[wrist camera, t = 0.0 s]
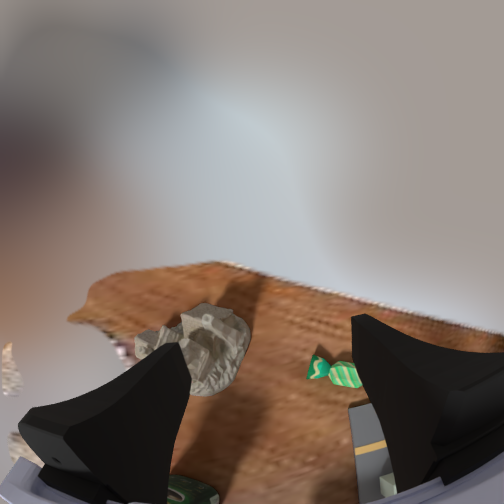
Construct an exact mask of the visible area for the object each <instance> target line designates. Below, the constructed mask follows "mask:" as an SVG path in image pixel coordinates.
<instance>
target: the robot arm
mask: <svg viewBox="0 0 504 504" xmlns="http://www.w3.org/2000/svg"><path fill="white" fill-rule="evenodd" d="M351 325H352V358H353V361H354V365H355V368H356V371H357V374H358V376H359V379H360V381H361V383H362V385H363V387H364V389H365V391H366V393H367V395H368V397H369V399H370V401H371V403H372V406H373V408H374V410H375V412H376V414H377V417H378V419H379V422H380V425H381V428H382V431H383V434H384V438H385V441H386V445H387V448H388V452H389V456H390V460H391V465H392V469H393V474H394V479H395V484H396V490H397V494H395V495H392V496H389V497H386V498H383V499H380V500H376V501H373V502H369V503H366V504H504V352H502V353H477V352H466V351H459V350H454V349H448V348H444V347H440V346H436V345H433V344H430V343H426V342H423V341H421V340H418V339H415V338H413V337H411V336H408V335H406V334H404V333H402V332H400V331H398V330H396V329H394V328H392V327H390V326H388V325H386V324H384V323H382V322H380V321H379V320H377V319H375V318H373V317H371V316H369V315H367V314H361V315H357V316H352V317H351ZM191 383H192V377H191V374H190V372H189V369H188V367H187V364H186V361H185V358H184V356H183V353H182V350H181V347H180V345H179V342H171V343H165V344H163V345H161V346H160V347H159V348H157V349H156V350H154V351H153V352H152V353H150V354H149V355H148V356H146V357H145V358H144V359H142V360H141V361H140V362H138V363H137V364H136V365H134V366H133V367H131V368H130V369H129V370H127V371H126V372H124V373H123V374H121V375H120V376H118V377H117V378H115V379H114V380H112V381H110V382H108V383H107V384H105V385H103V386H101V387H99V388H97V389H95V390H93V391H90V392H88V393H86V394H83V395H81V396H79V397H76V398H73V399H70V400H67V401H63V402H60V403H56V404H51V405H46V406H40V407H34V408H31V409H30V410H29V411H28V413H27V414H26V415H25V416H24V417H23V418H22V420H21V421H20V422H19V423H18V429H19V432H20V434H21V436H22V438H23V439H24V440H25V442H26V443H27V444H28V445H29V447H30V448H31V449H32V450H33V451H34V452H35V453H36V455H37V456H38V457H39V458H40V459H41V460H42V461H43V462H44V463H45V465H44V466H43V468H41V467H40V466H38V465H37V464H35V463H33V462H31V461H29V460H27V459H25V458H23V457H19V459H18V460H17V462H16V463H15V464H14V466H13V467H12V469H11V470H10V472H9V473H8V475H7V476H6V477H5V479H4V480H3V482H2V483H1V485H0V496H1V497H2V498H3V499H4V500H5V501H6V502H8V503H9V504H167V495H168V482H169V473H170V466H171V459H172V454H173V448H174V443H175V440H176V436H177V433H178V430H179V427H180V424H181V421H182V418H183V415H184V412H185V409H186V406H187V403H188V399H189V395H190V390H191Z"/></svg>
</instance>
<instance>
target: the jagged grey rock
mask: <svg viewBox="0 0 504 504" xmlns="http://www.w3.org/2000/svg"><path fill="white" fill-rule="evenodd" d="M232 312H233V310H232V309H226V308H221V307H217V306H214V305H211V304H207V303H201V304H199V305H198V306H197V307H195V308H193V309H192V310H191V311H187V312H184V313H182V314H181V319H182V322H181V323H179V324H178V325H177V326H176V327H172V328H171V329H169V328H167V327H166V326H164V325H163V326H162V328H161V329H160V331H156V332H154V331H151V330H146V331H144V332H142V333H141V334H138V335H137V336H136V337H135V338H134V339H135V343H136V344H135V355H136V357H137V358H139V359H141V360H142V359H144V358H145V357H146V356H148V355H149V354H150V353H152V352H153V351H154V350H156V349H157V348H159V347H160V346H161V345H163V344H165V343H171V342H179V345H180V347H181V350H182V353H183V356H184V358H185V361H186V364H187V367H188V369H189V372H190V374H191V377H192V383H191V390H190V394H191V395H195V396H212V395H214V394H217V393H218V392H220V391H222V390H224V389H225V388H226V387H228V386H229V385H230V384H231V383H232V382H233V380H234V379H235V377H236V374H237V372H238V369H239V366H240V364H241V361H242V360H243V358H244V355H245V352H246V350H247V348H248V345H249V342H250V339H251V335H250V328H249V327H248V325H247V324H246V322H245V321H244V320H243V319H242V318H240V317H237V316H236V315H234V314H233V313H232Z"/></svg>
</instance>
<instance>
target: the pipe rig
mask: <svg viewBox="0 0 504 504" xmlns="http://www.w3.org/2000/svg"><path fill="white" fill-rule="evenodd" d="M348 414H349V420H350V427H351V434H352V441H353V449H354V457H355V466H356V475H357V485H358V496H359V504H366V503H369V502H373V501H376V500H380V499H383V498H386V497H385V496H383V495H382V494H381V488H380V477H381V476H384V475H387V474H390V473H393V469H392V465H391V460H390V456H389V452H388V448H387V445H386V441H385V438H384V434H383V431H382V428H381V425H380V422H379V419H378V417H377V414H376V412H375V410H374V408H373V406H372V403H370V404H366V405H362V406H358V407H354V408H350V409H348Z"/></svg>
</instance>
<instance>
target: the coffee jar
mask: <svg viewBox="0 0 504 504" xmlns="http://www.w3.org/2000/svg"><path fill="white" fill-rule="evenodd" d="M167 504H219V495H218V493H217V491H216V490H215V489H214V488H212V487H211V486H209V485H207V484H205V483H202V482H200V481H197V480H194V479H191V478H188V477H184V476H180V475H169V482H168V495H167Z"/></svg>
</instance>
